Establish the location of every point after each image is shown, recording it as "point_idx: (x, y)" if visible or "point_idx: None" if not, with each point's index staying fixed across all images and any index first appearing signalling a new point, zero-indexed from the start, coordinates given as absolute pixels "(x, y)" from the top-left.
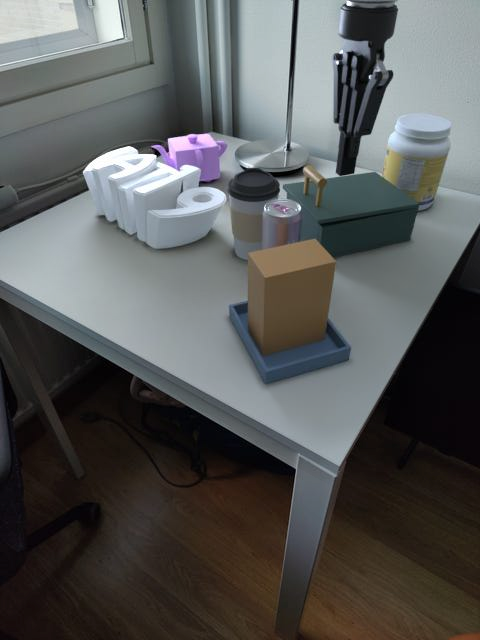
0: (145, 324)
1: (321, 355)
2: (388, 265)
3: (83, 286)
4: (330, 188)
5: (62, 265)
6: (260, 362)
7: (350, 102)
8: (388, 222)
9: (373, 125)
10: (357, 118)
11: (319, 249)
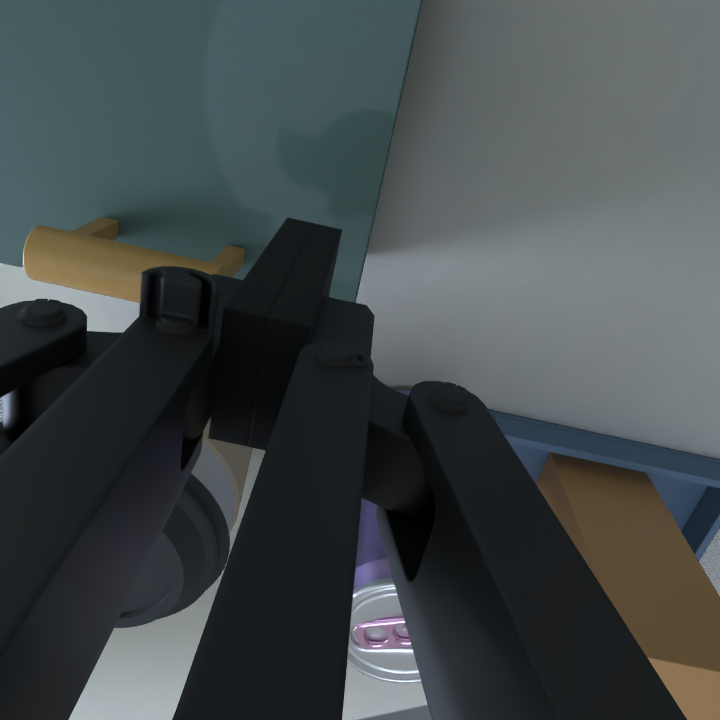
0: (348, 676)
1: (706, 545)
2: (539, 49)
3: (169, 707)
4: (99, 67)
5: (74, 711)
6: None
7: (112, 591)
8: None
9: (510, 452)
10: (405, 615)
11: (683, 678)
